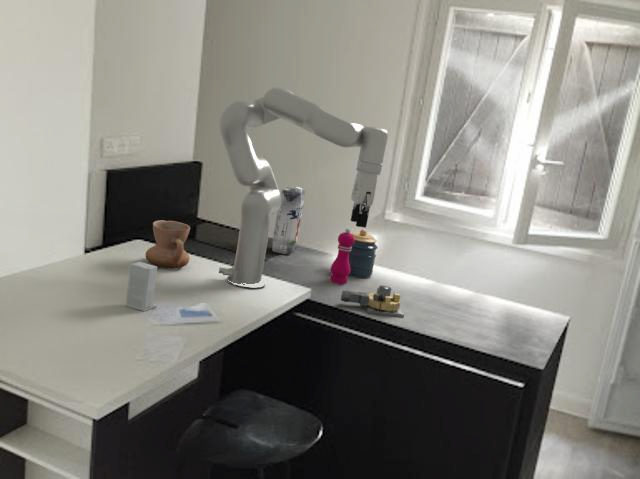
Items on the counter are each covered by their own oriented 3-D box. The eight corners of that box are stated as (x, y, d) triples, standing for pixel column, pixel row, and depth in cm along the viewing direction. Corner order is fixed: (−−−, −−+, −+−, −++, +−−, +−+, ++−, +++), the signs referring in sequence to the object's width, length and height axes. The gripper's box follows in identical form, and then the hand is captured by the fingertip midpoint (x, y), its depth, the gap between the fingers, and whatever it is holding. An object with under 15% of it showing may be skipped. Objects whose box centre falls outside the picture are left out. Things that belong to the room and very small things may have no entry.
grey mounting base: (367, 313, 221) (372, 290, 219) (359, 301, 232) (363, 279, 231) (403, 317, 223) (408, 295, 222) (393, 305, 235) (397, 284, 233)
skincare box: (152, 308, 190) (158, 266, 187) (144, 311, 186) (149, 269, 183) (133, 302, 192) (139, 261, 189) (124, 306, 188) (130, 263, 185)
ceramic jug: (137, 257, 236) (142, 217, 232) (178, 258, 243) (183, 219, 240) (154, 274, 221) (159, 232, 218) (196, 274, 229) (202, 233, 226)
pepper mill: (346, 286, 247) (356, 232, 243) (326, 281, 249) (336, 227, 245) (349, 281, 254) (359, 229, 250) (330, 277, 256) (340, 224, 251)
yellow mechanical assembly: (344, 305, 219) (346, 292, 218) (337, 294, 230) (339, 282, 229) (402, 312, 223) (404, 299, 222) (392, 301, 234) (395, 289, 233)
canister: (377, 276, 270) (386, 232, 267) (361, 280, 259) (370, 235, 256) (349, 266, 277) (357, 224, 273) (332, 270, 266) (341, 226, 262)
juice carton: (269, 251, 277) (280, 185, 272) (275, 246, 287) (286, 183, 282) (291, 256, 276) (302, 190, 270) (296, 251, 286) (307, 187, 281)
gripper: (351, 162, 220) (340, 216, 224) (364, 170, 203) (352, 228, 207) (373, 166, 222) (363, 220, 225) (388, 174, 205) (376, 232, 209)
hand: (358, 223), depth 216 cm, fingers open, 6 cm apart
